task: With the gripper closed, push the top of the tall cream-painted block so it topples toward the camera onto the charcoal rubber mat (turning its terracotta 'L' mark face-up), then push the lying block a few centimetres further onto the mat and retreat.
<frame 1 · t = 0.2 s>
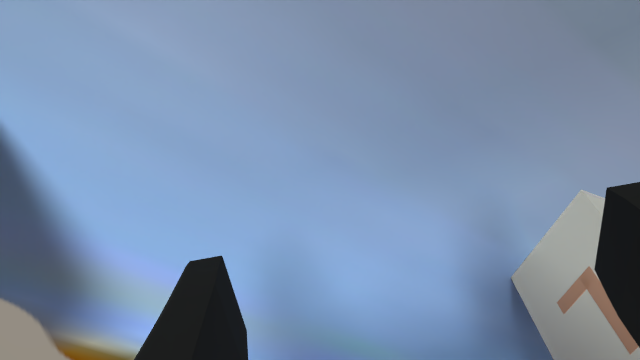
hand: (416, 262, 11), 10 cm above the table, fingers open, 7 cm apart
block: (631, 318, 22), point 4 cm above the table
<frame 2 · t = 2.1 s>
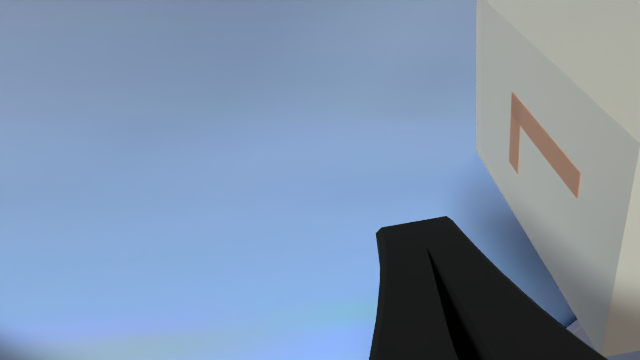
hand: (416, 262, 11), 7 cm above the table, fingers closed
block: (615, 133, 14), point 4 cm above the table
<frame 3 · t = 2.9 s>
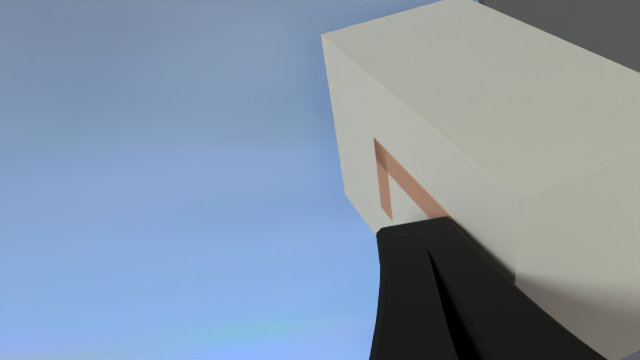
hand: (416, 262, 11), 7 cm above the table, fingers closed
block: (480, 168, 13), point 4 cm above the table, tilted 15°
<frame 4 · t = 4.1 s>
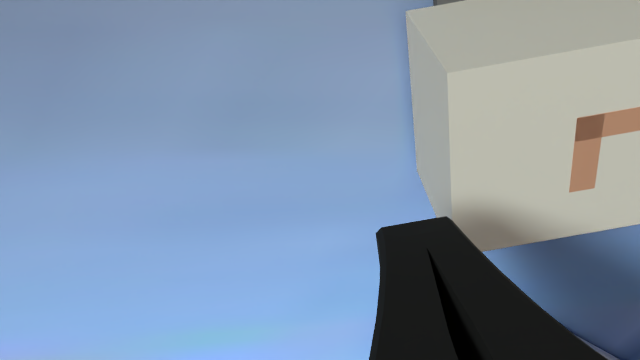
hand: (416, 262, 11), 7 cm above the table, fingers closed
block: (584, 104, 15), point 2 cm above the table, tilted 90°, touching mat
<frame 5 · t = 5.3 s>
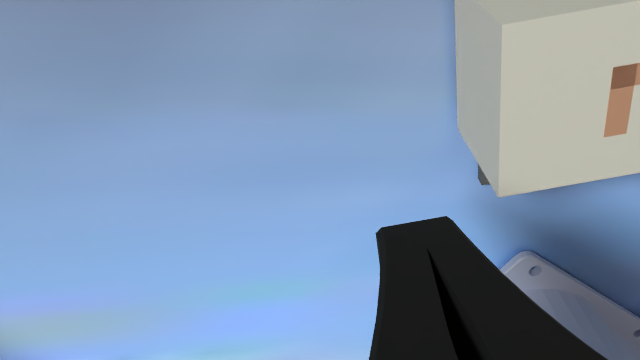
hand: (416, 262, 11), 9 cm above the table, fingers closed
block: (615, 61, 17), point 2 cm above the table, tilted 90°, touching mat
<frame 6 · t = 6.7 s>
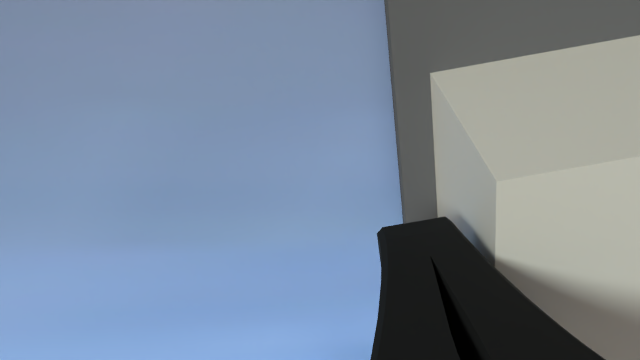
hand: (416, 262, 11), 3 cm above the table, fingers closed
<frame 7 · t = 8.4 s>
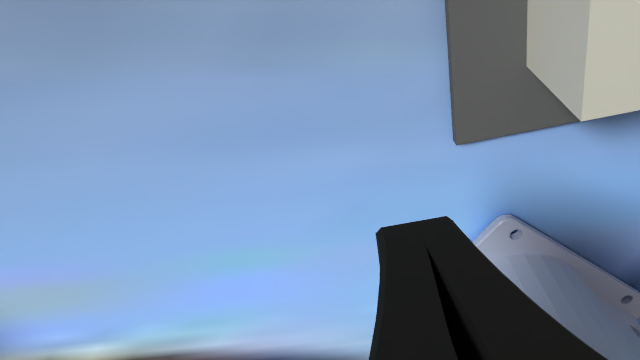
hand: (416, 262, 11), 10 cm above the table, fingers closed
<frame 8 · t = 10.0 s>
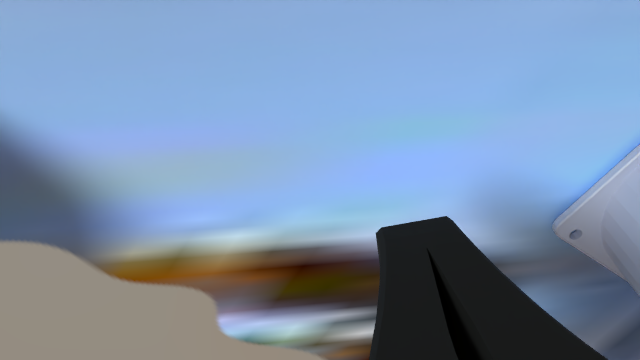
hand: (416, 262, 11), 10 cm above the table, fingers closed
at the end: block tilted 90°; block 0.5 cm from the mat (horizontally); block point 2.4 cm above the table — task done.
